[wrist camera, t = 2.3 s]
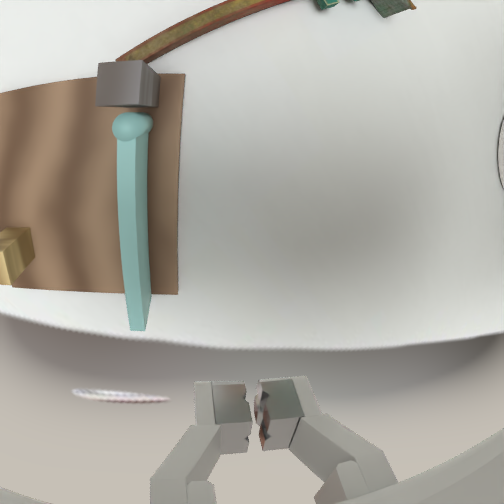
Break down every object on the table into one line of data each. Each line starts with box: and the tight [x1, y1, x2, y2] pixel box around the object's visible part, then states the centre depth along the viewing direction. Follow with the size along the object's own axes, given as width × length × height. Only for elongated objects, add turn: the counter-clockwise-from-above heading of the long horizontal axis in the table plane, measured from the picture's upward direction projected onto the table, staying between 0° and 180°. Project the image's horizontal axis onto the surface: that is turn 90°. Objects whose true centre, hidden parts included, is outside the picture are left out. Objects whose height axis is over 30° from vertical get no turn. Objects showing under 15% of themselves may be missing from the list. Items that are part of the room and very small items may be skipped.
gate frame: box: [0, 60, 185, 295], centre depth 19 cm, size 18×19×9 cm
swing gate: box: [112, 112, 153, 331], centre depth 22 cm, size 2×16×5 cm, turn 175°
